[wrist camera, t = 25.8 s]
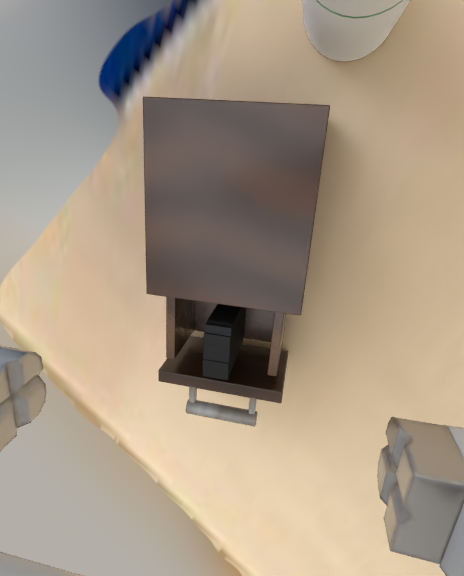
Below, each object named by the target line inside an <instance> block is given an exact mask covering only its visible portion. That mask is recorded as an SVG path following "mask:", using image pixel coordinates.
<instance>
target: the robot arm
mask: <svg viewBox="0 0 464 576" xmlns="http://www.w3.org/2000/svg"><path fill="white" fill-rule="evenodd" d="M42 370H43V364H42V359H41V356H40V355H38V354H37V353H36V352H31V351H26V350H21V349H17V348H12V347H6V346H1V345H0V451H1V450H2V449H3V448H4V447H5V446H6V445H7V444H8V443H9V442H10V441H11V440H12V439H14V438H15V437H16V436H17V429H18V428H19V427H21V426H23V425H26V424H28V423H31V422H32V420H34V419H35V417H37V416H38V415H39V413H40V411H41V409H42V407H43V405H44V403H45V399H46V385H45V383H44V382H43V380H42V379H41V378H40V376H39V374H40V372H41V371H42ZM386 436H387V440H388V445H387V446H386V447H384V448H383V449H381V453H380V458H379V462H378V475H377V477H378V489H379V495H380V498H381V500H382V501H383V502H384V503H385V504H386V505H387V508H386V512H385V515H384V522H385V527H386V532H387V537H388V542H389V547H390V551H392V552H396V553H400V554H404V555H407V556H411V557H415V558H419V559H422V560H426V561H430V562H434V563H437V564H440V568H441V569H442V571H443V572H444V573H445V575H446V576H464V428H461V427H454V426H448V425H444V426H443V425H437V424H431V423H425V422H419V421H414V420H408V419H402V418H396V417H391V419H390V421H389V423H388V426H387V430H386ZM0 576H83V575H79V574H76V573H72V572H69V571H65V570H62V569H58V568H55V567H51V566H48V565H44V564H41V563H37V562H34V561H31V560H27V559H23V558H20V557H17V556H13V555H9V554H6V553H3V552H0Z"/></svg>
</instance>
